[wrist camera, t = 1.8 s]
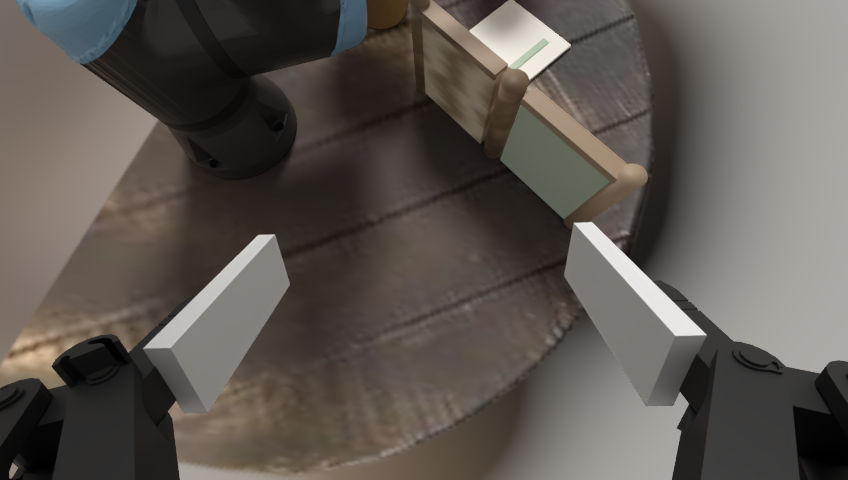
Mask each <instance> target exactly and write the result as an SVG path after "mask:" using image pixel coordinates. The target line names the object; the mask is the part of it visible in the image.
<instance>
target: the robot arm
mask: <svg viewBox="0 0 848 480" xmlns="http://www.w3.org/2000/svg"><path fill="white" fill-rule="evenodd" d="M16 3H17V5H18V7H19V9H20V11H21V12H22V14H23V15H24V17H25V18H26V19H27V20H28V21H29V22H30V23H31V24H32V25H33V26H34V27H35V28H36V29H37V30H39V31H40V32H41V33H43V34H44V35H45V36H46V37H48V38H49V39H50V40H51V41H53V42H54V43H55V44H56V45H57V46H59V47H60V48H61V49H62V50H64V51H65V53H66V54H67V56H69V58H71V59H72V60H74V61H76V62H77V63H80V64H81V65H83V66H84V67H85V68H87V69H88V70H89V71H91V72H93V73H94V74H95V75H97V76H98V77H100V78H101V79H102V80H104V81H105V82H106V83H108V84H109V85H111V86H112V87H114V88H115V89H116V90H118V91H119V92H121V93H122V94H123V95H125V96H126V97H128V98H129V99H130V100H132V101H133V102H135V103H136V104H137V105H139V106H140V107H142V108H143V109H144V110H146V111H147V112H149V113H150V114H151V115H153V116H154V117H156V118H157V119H159V120H160V121H161V122H163V123H164V124H165V125H167V127H168V128H169V130H170V131H171V133H172V134H173V135H174V137H175V138H176V140H177V141H178V143H179V144H180V146H181V147H182V149H183V150H184V151H185V153H186V154H187V155H188V157H189V158H190V159H191V160H192V161H193V162H195V163H196V164H197V165H199V166H200V167H202V168H203V169H205V170H206V171H208V172H209V173H211V174H213V175H215V176H218V177H222V178H226V179H243V178H248V177H252V176H255V175H258V174H260V173H263V172H264V171H266V170H268V169H270V168H271V167H272V166H274V165H275V164H276V163H277V162H279V161H280V160H281V159H282V157H283V156H284V155H285V154H286V153H287V151H288V150H289V148H290V146H291V144H292V142H293V140H294V137H295V133H296V115H295V111H294V109H293V106H292V104H291V103H290V101H289V100H288V98H287V97H286V95H285V94H284V92H283V91H282V90H281V89H280V88H279V87H278V86H277V85H276V84H275V83H274V82H272V81H271V80H270V79H268V78H267V77H265V76H264V75H263V74H262V73H266V72H270V71H274V70H278V69H282V68H286V67H290V66H294V65H298V64H302V63H306V62H310V61H314V60H318V59H322V58H326V57H333V56H335V55H336V54H337V53H340V52H342V51H345V50H348V49H351V48H354V47H356V46H358V45H359V44H360V43H361V42H362V41H363V40H364V38H365V35H366V31H367V5H366V0H16ZM564 277H565V278H566V280H567V281H568V283H569V285H570V286H571V288H572V289H573V291H574V293H575V294H576V296H577V297H578V299H579V301H580V302H581V304H582V305H583V307H584V308H585V310H586V312H587V313H588V315H589V316H590V318H591V320H592V321H593V323H594V324H595V326H596V328H597V329H598V331H599V332H600V334H601V336H602V337H603V339H604V340H605V342H606V343H607V345H608V346H609V348H610V350H611V351H612V353H613V355H614V356H615V358H616V359H617V361H618V362H619V364H620V366H621V367H622V369H623V371H624V372H625V374H626V375H627V377H628V378H629V380H630V382H631V383H632V385H633V386H634V388H635V389H636V391H637V392H638V394H639V396H640V398H641V399H642V401H643V402H644V404H645V405H646V406H673V405H674V402H675V401H676V398H677V396H678V394H679V392H681V393H682V395H683V396H684V397H685V398H686V400H687V401H688V403H689V406H688V407H687V409H686V411H685V414H684V415H683V417H682V419H681V421H680V423H679V425H678V427H677V429H679V430H681V436H680V441H679V446H678V452H677V456H676V462H675V466H674V472H673V477H672V480H848V362H845V361H832V362H830V363H829V364H828V365H827V366H826V367H825V368H824V370H823V371H822V372H821V374H819V373H814V372H809V371H804V370H799V369H794V368H789V367H786V366H785V365H783V364H782V363H781V362H780V361H779V360H778V359H777V358H776V357H774V356H772V355H771V354H769V353H768V352H766V351H764V350H762V349H760V348H758V347H755V346H753V345H750V344H746V343H742V342H733V341H732V340H731V339H730V338H729V337H728V336H727V335H726V334H725V333H724V332H722V331H721V330H720V329H719V328H718V327H717V326H716V325H715V324H714V323H713V322H712V321H711V320H709V319H708V318H707V317H706V316H705V315H704V314H703V313H702V312H701V311H698V310H697V308H696V307H695V306H694V305H693V304H692V303H691V302H688V300H687V298H685V297H684V296H683V295H682V294H681V293H680V292H679V291H678V290H677V289H675V288H673V287H671V286H670V285H668V284H666V283H664V282H662V281H651V280H650V279H649V278H648V277H647V276H646V275H645V274H644V273H643V272H642V271H641V270H640V269H639V268H638V267H637V266H636V265H635V264H634V263H633V262H632V261H631V260H630V259H629V258H628V257H627V256H626V255H625V254H624V253H623V252H622V251H621V250H620V249H619V248H618V247H617V246H616V245H615V244H614V243H613V242H612V241H611V240H609V239H608V238H607V237H606V236H605V235H604V234H603V233H602V232H601V231H600V230H599V229H598V228H597V227H596V226H595V225H594V224H593V223H592V222H583V223H574V224H573V229H572V235H571V240H570V246H569V251H568V257H567V262H566V268H565V273H564ZM289 286H290V282H289V279H288V276H287V272H286V269H285V266H284V263H283V259H282V256H281V253H280V249H279V246H278V243H277V239H276V236H275V234H271V235H258V236H257V237H256V238H255V239H254V240H253V241H252V242H251V243H250V244H249V245H248V246H247V247H246V248H245V249H244V250H243V251H241V252H240V253H239V254H238V255H237V256H236V257H235V258H234V259H233V260H232V261H231V262H230V263H229V264H228V265H227V266H226V267H225V268H224V269H223V270H222V271H221V272H220V273H219V274H218V275H217V276H216V277H215V278H214V279H213V280H212V281H211V282H210V283H209V284H208V285H207V286H206V287H205V288H204V289H203V290H202V291H201V292H200V293H199V294H198V295H197V296H193V297H191V298H189V299H188V300H186V301H185V302H183V303H181V304H180V305H178V306H177V307H176V308H175V309H174V310H173V311H172V312H171V313H170V314H169V315H168V318H165V319H164V320H163V321H162V322H160V323H159V326H156V327H155V328H154V329H153V330H152V331H151V332H150V333H149V334H148V335H147V336H146V337H145V338H144V339H143V340H142V341H141V342H139V343H138V344H137V345H136V346H135V347H134V348H133V349H132V350H131V351H130V352H129V353H128V352H127V350H126V349H125V347H124V346H123V344H122V343H121V342H120V340H119V339H118V337H117V336H115V335H111V334H109V335H100V336H97V337H94V338H90V339H88V340H85V341H83V342H81V343H79V344H76V345H75V346H73V347H72V348H70V349H68V350H67V351H65V352H64V353H63V354H62V355H60V356H59V357H58V358H57V359H56V360H55V362H54V363H53V365H52V368H53V369H54V370H55V371H56V372H57V374H58V375H59V376H60V377H61V378H62V379H63V381H64V382H65V383H66V384H67V385H64V386H60V387H56V388H52V389H47V388H46V387H45V385H44V384H43V383H42V382H41V381H40V380H39V379H35V378H29V379H24V380H19V381H17V382H14V383H11V384H8V385H5V386H3V387H1V388H0V480H180V478H179V470H178V462H177V454H176V446H175V438H174V430H173V422H172V418H171V416H170V414H169V413H168V410H169V409H170V408H171V406H172V405H173V404H174V403H175V401H177V403H178V405H179V406H180V408H181V409H182V411H183V412H184V413H208V412H209V410H210V409H211V407H212V406H213V404H214V403H215V401H216V399H217V398H218V396H219V395H220V393H221V392H222V390H223V389H224V387H225V385H226V384H227V382H228V381H229V379H230V378H231V376H232V375H233V373H234V371H235V370H236V368H237V367H238V365H239V364H240V362H241V361H242V359H243V357H244V356H245V354H246V353H247V351H248V350H249V348H250V346H251V345H252V343H253V342H254V340H255V339H256V337H257V336H258V334H259V332H260V331H261V329H262V328H263V326H264V325H265V323H266V322H267V320H268V318H269V317H270V315H271V314H272V312H273V311H274V309H275V307H276V306H277V304H278V303H279V301H280V300H281V298H282V297H283V295H284V293H285V292H286V290H287V289H288V287H289ZM12 463H14V464H15V465H16V466H17V467H18V469H17V471H16V473H15V474H14V476H13V477H12V479H10V478H9V470H10V468H11V465H12Z"/></svg>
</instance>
